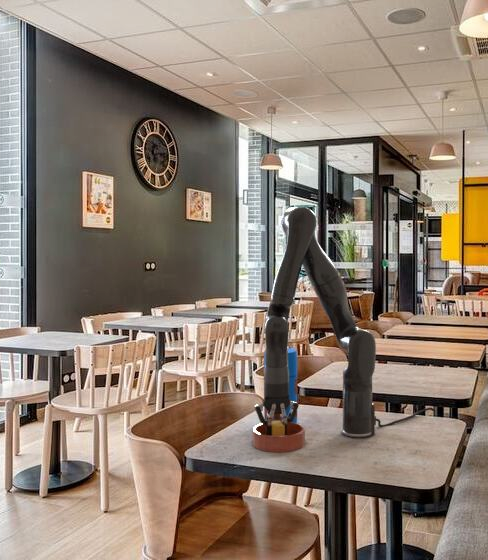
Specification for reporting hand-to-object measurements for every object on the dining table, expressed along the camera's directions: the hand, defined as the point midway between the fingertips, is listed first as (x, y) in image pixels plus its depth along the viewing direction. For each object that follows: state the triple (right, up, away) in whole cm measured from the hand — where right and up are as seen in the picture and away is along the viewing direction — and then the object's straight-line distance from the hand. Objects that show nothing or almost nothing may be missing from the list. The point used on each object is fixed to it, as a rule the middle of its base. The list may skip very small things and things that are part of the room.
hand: (276, 436), depth 182 cm
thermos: (+1, -1, +17) cm, 17 cm away
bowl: (+1, -2, -1) cm, 2 cm away
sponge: (0, -1, 0) cm, 1 cm away
